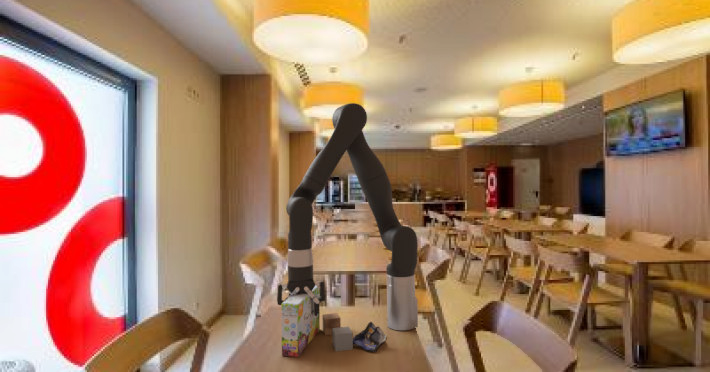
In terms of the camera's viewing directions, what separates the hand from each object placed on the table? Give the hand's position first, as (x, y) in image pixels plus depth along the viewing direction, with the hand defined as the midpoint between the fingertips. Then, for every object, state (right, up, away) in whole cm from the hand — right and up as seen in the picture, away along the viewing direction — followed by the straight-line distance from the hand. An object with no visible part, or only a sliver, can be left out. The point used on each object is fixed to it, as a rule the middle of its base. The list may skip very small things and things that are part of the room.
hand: (301, 316), depth 131 cm
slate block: (+12, -8, -4) cm, 15 cm away
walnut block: (+9, -7, +9) cm, 14 cm away
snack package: (+21, -8, -2) cm, 23 cm away
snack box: (0, -8, 0) cm, 8 cm away
